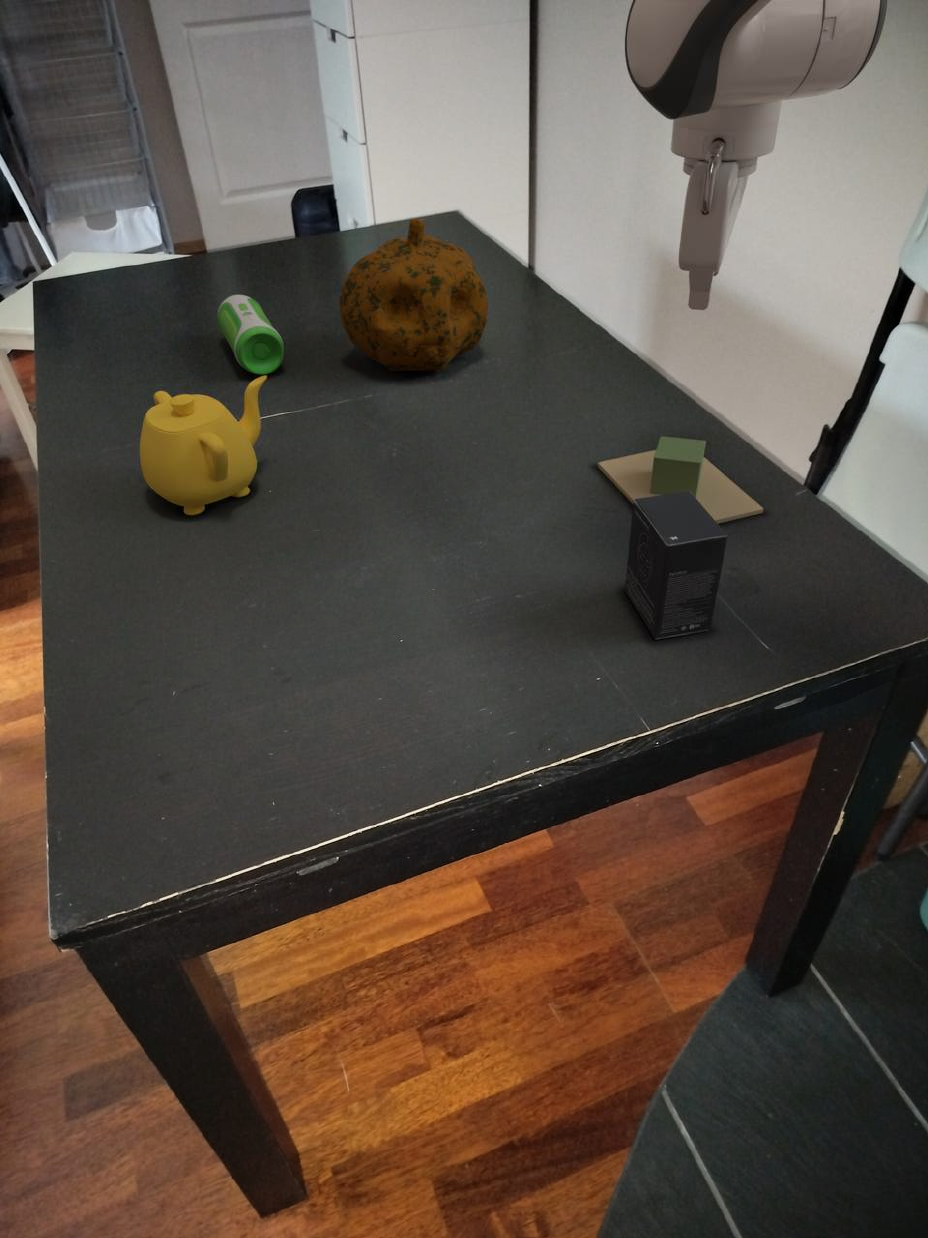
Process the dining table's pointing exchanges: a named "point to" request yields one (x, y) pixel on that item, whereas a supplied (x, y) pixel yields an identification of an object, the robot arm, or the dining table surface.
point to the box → (674, 564)
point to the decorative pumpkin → (414, 303)
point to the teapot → (199, 448)
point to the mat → (712, 490)
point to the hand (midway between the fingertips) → (704, 289)
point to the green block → (677, 465)
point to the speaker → (250, 335)
